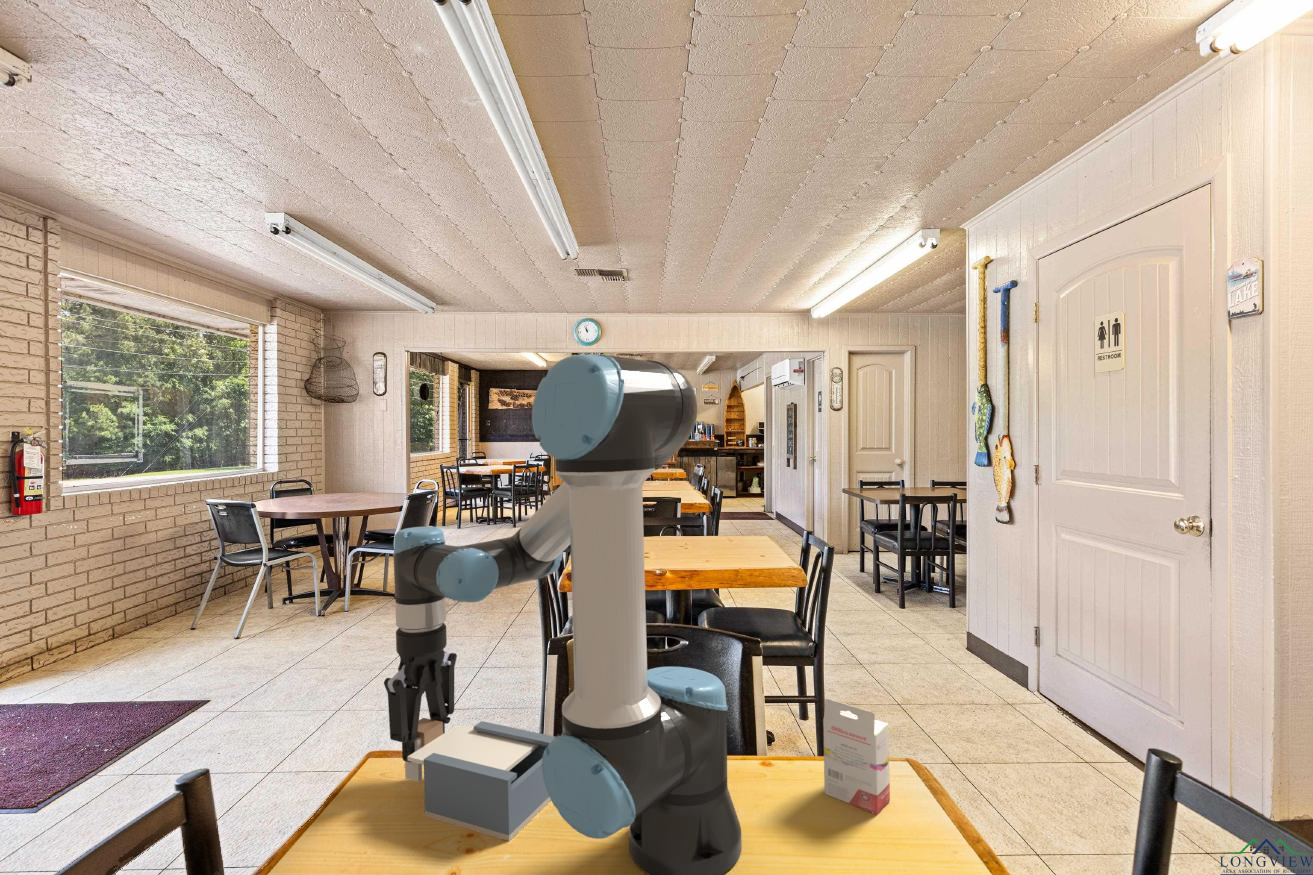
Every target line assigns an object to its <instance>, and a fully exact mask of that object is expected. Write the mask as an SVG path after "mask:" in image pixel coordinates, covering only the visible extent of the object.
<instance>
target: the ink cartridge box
mask: <svg viewBox="0 0 1313 875" xmlns="http://www.w3.org/2000/svg"><path fill="white" fill-rule="evenodd" d="M823 714H824V716H823V720H822V722H823V723H822V724H823V725H822V726H823V764H824V766H823V771H824V772H823V773H824V774H823V776H824V777H823V778H824V780H823V782H824V786H823V787H824V793H825V795H828V796H830V797H833V798H835V799H837V800H840V801H843V802H845V803H847V804H850V805H851V806H854V807H856V808H857V807H858V808H859V809H861V810H864V811H867V812H870V813H872V814H874V815H878V814H879V813H880V812H881V811H882V810H883V809H884V808H885V807H886V805H888V803H889V802H890V801H891V790H890V788H891V784H890V774H891V773H890V746H889V744H890V742H889V741H890V738H889V737H890V736H889V723H888V722H884V721H881V720H878V719H877V720H876V715H875V713H874V712H873V711H870V710H866V709H863V708H860V707H857V706H854V705H851V704H847V703H844V702H840V701H838V700H834V699H830V698H828V697H827V698H825V699H824V713H823Z"/></svg>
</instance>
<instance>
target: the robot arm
mask: <svg viewBox="0 0 1313 875" xmlns="http://www.w3.org/2000/svg"><path fill="white" fill-rule="evenodd" d="M697 415H698V401H697V396H696V393H695V391H694V388H693V386H692V385H691V382H690V381H689V380H688V378H687V377H686V376H685V375H684V374H683V373H682V372H681V371H680V370H678V369H677V368H675V367H674V366H672V365H670V364H667V363H665V362H662V361H657V360H651V359H650V360H649V359H648V360H644V359H638V358H628V357H623V356H616V355H615V356H614V355H608V354H602V353H601V354H597V353H595V354H574V355H570V356H567V357H565V358H562V359H560V360H559V361H558V362H556V363H555V364H554V365H553V366H552V367H550V368H549V369H548V371H547V374H546V376H544V377H542V379H541V381H540V382H539V384H538V387H537V389H536V392H535V395H534V399H533V403H532V412H531V419H532V420H531V421H532V428H533V433H534V436H535V438H536V439H537V440H539V441H540V442H539V446H540V448H541V449H542V450H543V452H545V453H546V454H548V455H549V456H551V457H553V459H554V464H555V465H554V467H555V468H554V470H555V475H556V476H557V477H559V479H560V480H562V481H563V482H562V483H561V484H560V486H558V487H557V489H555V491H553V493H552V494H551V495H550V496H549V497H548V498H547V499H546V500H545V502H544V503H543V504H542V505H541V506H540V507H539V508H538V509H537V510H536V511H535V512H534V514H532V516H530V517H529V518H528V520H527V521H526V522H525V523H524V524H523V525H522V526H521V527H520V528H519V529H518V530H517V531H516V532H515V533H514V534H513V535H511V536H508V537H503V538H499V539H498V538H497V539H494V540H493V539H492V540H488V541H483V542H476V543H472V544H466V545H450V544H446V540H445V536H444V531H443V529H442V528H441V527H438V526H429V525H428V526H414V527H407V528H403V529H400V530H398V531H397V532H396V533H395V535H394V539H393V553H392V558H393V573H394V574H393V575H394V576H393V577H394V579H393V580H394V596H395V598H394V599H395V600H394V601H395V602H394V603H395V605H394V606H395V608H394V609H395V626H396V627H397V630H396V631H395V642H396V644H395V646H396V647H395V648H396V653H397V654H398V655H399V656H398V657H399V660H400V661H399V664H398V668H397V673H395V675H394V676H392V677H386V678H385V679H384V682H383V685H384V689H385V690H386V693H387V704H388V705H387V706H388V721H389V722H388V724H389V737H390V738H389V739H390V740H391V741H395V742H399V743H401V753H402V755H401V756H402V761H404V768H405V769H404V770H405V772H404V773H405V779H407V780H409V781H410V780H411V781H414V782H417V783H419V782H421V781H422V780H423V764H419V763H415V762H411V761H408V758H407V757H408V756H409V755H411V754H412V753H414V752H416V751H417V750H419V749H420V748H421V738H419V737H417V732H418V723H419V720H420V715H421V714H420V713H421V707H422V696H423V694H424V695H425V699H426V703H427V708H428V713H429V714H428V715H429V719H431V720H436V721H441V722H443V734H444V733H446V732H445V731H446V730H445V728H446V726H445V725H448V724H449V723H450V722H451V716H450V717H449V715H453V714H454V712H455V666H456V662H457V657H458V654H457V653H455V652H450V651H445V650H444V649H445V648H446V647H447V642H448V641H447V640H448V639H447V625H446V623H445V622H446V621H447V602H446V598H448V599H449V600H452V601H455V602H456V601H457V602H459V603H478V602H480V601H483V600H485V599H486V598H487V597H488V596H489V595H490V594H492V592H493V591H494V590H498V589H502V588H504V587H507V586H508V587H509V586H513V585H517V584H521V583H525V582H526V583H527V582H529V581H530V582H531V581H536V580H537V581H538V580H540V579H543V578H544V577H548V576H549V575H552V574H554V573H556V571H558V569H559V568H560V565H561V561H562V560H563V552H564V551H565V550H566V549H567V548H568V547H569V546H570V569H571V576H570V577H571V599H572V600H571V601H572V602H571V606H572V638H573V639H572V640H573V642H572V644H573V673H574V674H573V676H574V681H573V682H574V683H573V684H574V690H573V691H572V692H571V693H570V694H568V696H567V697H566V698H565V699H564V701H563V702H562V705H561V724H562V732H561V735H558V736H555V738H553V740H552V741H551V742H550V743H549V746H548V747H547V748H546V749H545V751H544V754H543V758H542V772H543V778H544V783H545V786H546V789H547V792H548V794H549V797H550V799H551V801H550V802H551V803H552V805H553V807H555V808H556V810H557V812H558V813H559V815H560V816H561V818H562V819H563V820H564V821H565V822H566V823H567V824H568V825H569V826H570V827H571V828H572V829H573V830H574V831H576V832H577V833H579V834H581V835H582V836H585V837H587V838H591V839H595V840H596V839H599V840H602V839H605V838H608V837H610V836H613V835H615V834H616V833H618V832H619V831H621V830H622V829H625V828H628V827H629V828H628V849H629V853H630V856H631V859H632V860H633V862H635V864H636V865H637V866H638V867H639V868H640V869H641V870H643V871H644V872H645V873H647V874H648V875H723V874H726V873H727V872H729V870H730V869H732V868H733V867H734V866H735V865H736V863H737V862H738V861H739V858H741V857H740V856H741V855H742V854H741V853H742V846H743V845H742V841H743V840H742V827H741V823H740V820H739V817H738V815H737V811H736V808H735V805H734V802H733V800H732V797H731V795H730V794H731V793H730V792H729V788H728V786H729V785H728V727H727V726H728V722H727V721H728V720H727V719H728V715H727V714H728V713H727V712H728V710H729V707H728V705H727V697H726V696H727V695H726V688H725V685H724V683H723V681H721V680H720V678H719V677H717V676H716V675H714V674H712V673H710V672H708V671H704V670H701V669H697V668H692V667H684V666H659V667H654V668H649V669H648V651H647V650H648V649H647V619H646V618H647V617H646V616H647V614H646V612H647V611H646V607H647V606H646V582H645V581H646V579H645V578H646V577H645V574H646V573H645V542H644V540H645V539H644V506H643V505H644V503H643V502H644V501H643V500H644V499H643V485H644V483H645V481H646V480H647V479H649V477H650V476H651V475H652V474H653V473H654V472H655V471H656V472H657V471H658V470H660V469H661V468H662V467H663V466H664V465H665V464H666V463H667V462H669V461H670V460H671V459H672V458H673V457H674V456H675V455H676V454H677V452H679V451H680V449H681V448H682V447H683V446H684V445H685V443H687V441H688V439H689V438H690V436H691V435H692V433H693V431H694V428H695V426H696V422H697V418H698V416H697ZM408 731H409V732H408Z"/></svg>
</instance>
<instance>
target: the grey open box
mask: <svg viewBox="0 0 1313 875" xmlns="http://www.w3.org/2000/svg"><path fill="white" fill-rule="evenodd" d="M473 728H474V730H476V731H480V732H485V733H489V734H494V735H498V736H503V737H508V738H512V739H517V740H521V741H526V742H530V743H535V744H539V747H538V748H536V749H535V750H534V751H533V752H531V753H530V754H529V755H528V756H527V757H525V758H524V759H523V760H522V761H520V762H519V763H518V764H517V765H516V766H514V767H513V768H512V769H511V770H509V771H506V770H502V769H498V768H493V767H489V766H485V765H481V764H477V763H473V762H469V761H465V760H461V759H457V758H453V757H449V756H445V755H440V754H436V753H432V754H431V755H429V756H428V757H426V758H425V759H424V765H423V783H424V784H423V787H424V788H423V789H424V790H423V791H424V792H423V793H424V795H423V796H424V817H426V818H430V819H434V820H437V821H439V822H444V823H447V824H450V825H453V826H457V827H459V828H464V829H467V830H470V831H474V832H477V833H480V834H483V835H486V836H491V837H494V838H497V839H500V840H503V841H507V842H510V841H511V840H512V839H513V838H514V837H516V836H517V835H518V834H519V832H520V831H521V830H522V829H524V828H525V827H526V826H527V825H528V823H530V822H531V821H532V819H534V817H536V816H537V814H539V813H540V812H541V811H542V810H543V809H544V808H545V807H547V805H549V803H550V802H552V801H551V799H550V797H549V794H548V792H547V789H546V786H545V783H544V778H543V772H542V758H543V754H544V751H545V749H546V748H547V747H548V746H549V743H550V742H551V741H552V740H553V738H555V737H556V736H554V735H550V734H544V733H540V732H535V731H531V730H526V729H521V728H516V727H512V726H506V725H501V724H497V723H493V722H488V721H483V720H482V721H480V722H478V723H477V724H475V725H474V726H473Z"/></svg>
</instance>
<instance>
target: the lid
mask: <svg viewBox="0 0 1313 875" xmlns="http://www.w3.org/2000/svg"><path fill="white" fill-rule="evenodd" d="M408 732H409V731H408ZM417 737H419V738H421V748H420V749H419V750H417V751H416V752H414V753H412V754H411V755H409V756H408V757H407V758H408V761H411V762H415V763H419V764H422V766H424V759H425V758H426V757H428V756H429V755H431V754H432V753H436V754H440V755H445V756H449V757H453V758H457V759H461V760H465V761H469V762H473V763H477V764H481V765H485V766H489V767H493V768H498V769H502V770H506V771H509V770H511V769H512V768H513V767H514V766H516V765H517V764H518V763H519V762H520V761H522V760H523V759H524V758H525V757H527V756H528V755H529V754H530V753H531V752H533V751H534V750H535V749H536V748H538V747H539V744H535V743H530V742H526V741H521V740H517V739H512V738H508V737H503V736H498V735H494V734H489V733H485V732H480V731H476V730H474V727H470V726H464V725H460V724H457V725H455V726H454V727H452V728H450V729H449V730H447V731H446V732H445V733H444V734H443V722H441V721H436V720H431V719H430V718H426V717H422V718H421V719H420V718H419V723H418V732H417Z"/></svg>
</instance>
